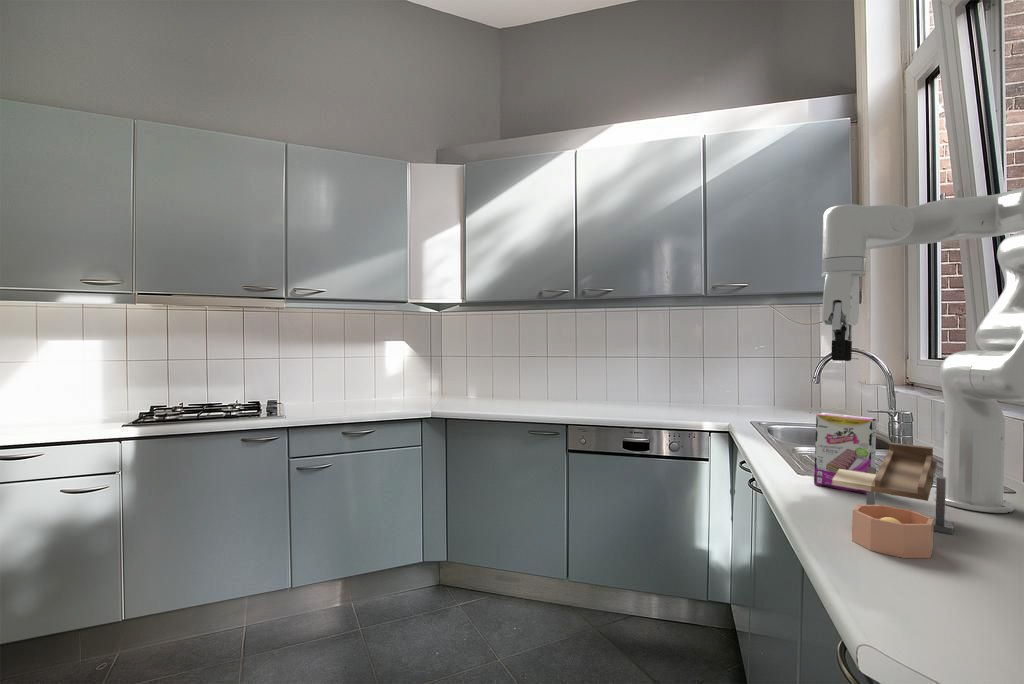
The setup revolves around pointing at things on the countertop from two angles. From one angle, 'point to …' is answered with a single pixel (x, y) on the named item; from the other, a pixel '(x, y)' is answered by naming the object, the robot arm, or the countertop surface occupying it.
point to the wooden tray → (896, 473)
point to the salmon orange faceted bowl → (893, 531)
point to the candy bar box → (843, 446)
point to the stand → (939, 521)
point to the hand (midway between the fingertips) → (841, 360)
